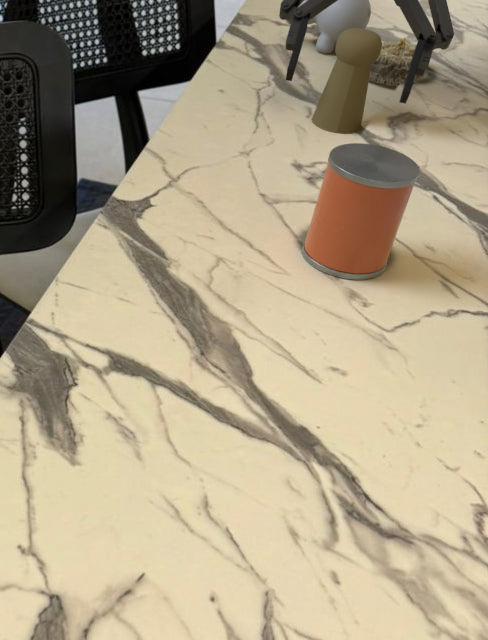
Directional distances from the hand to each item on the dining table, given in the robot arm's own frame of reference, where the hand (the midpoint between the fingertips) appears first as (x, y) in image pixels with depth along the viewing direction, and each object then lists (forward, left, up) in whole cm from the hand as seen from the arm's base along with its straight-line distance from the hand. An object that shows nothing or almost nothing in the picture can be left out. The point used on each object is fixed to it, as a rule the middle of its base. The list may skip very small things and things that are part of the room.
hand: (346, 86), depth 122 cm
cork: (0, -2, -5) cm, 6 cm away
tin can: (-10, +31, -5) cm, 33 cm away
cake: (-2, -23, -5) cm, 24 cm away
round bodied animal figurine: (+10, -28, -5) cm, 30 cm away
